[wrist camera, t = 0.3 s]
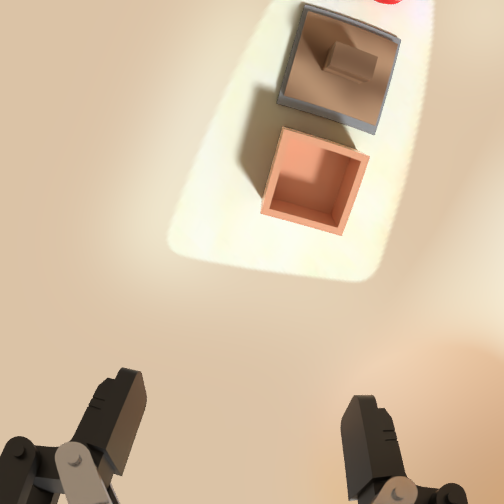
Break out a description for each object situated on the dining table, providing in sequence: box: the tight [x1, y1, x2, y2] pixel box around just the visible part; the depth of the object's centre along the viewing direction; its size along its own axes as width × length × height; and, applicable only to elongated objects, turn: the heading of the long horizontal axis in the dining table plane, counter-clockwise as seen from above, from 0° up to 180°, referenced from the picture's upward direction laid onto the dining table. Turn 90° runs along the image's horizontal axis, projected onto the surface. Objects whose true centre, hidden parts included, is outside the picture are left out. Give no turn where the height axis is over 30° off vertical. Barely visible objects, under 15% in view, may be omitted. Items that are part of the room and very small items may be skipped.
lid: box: [284, 11, 398, 126], centre depth 26 cm, size 10×10×5 cm
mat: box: [277, 4, 401, 135], centre depth 28 cm, size 12×11×1 cm
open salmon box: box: [260, 126, 370, 236], centre depth 32 cm, size 8×8×5 cm
